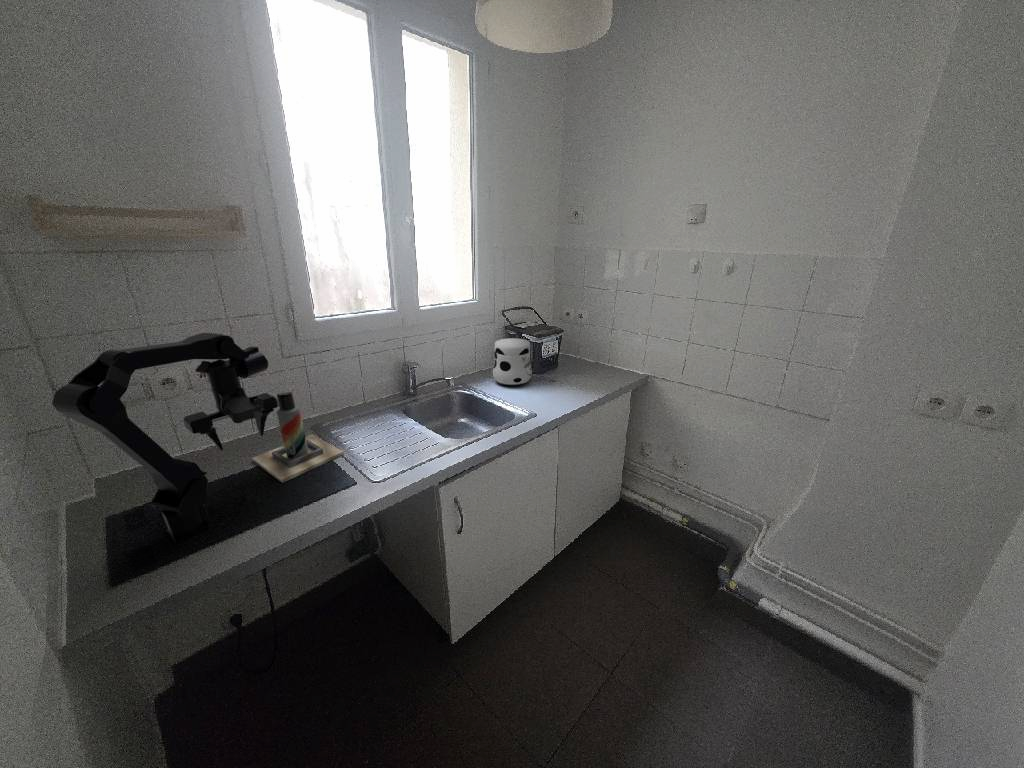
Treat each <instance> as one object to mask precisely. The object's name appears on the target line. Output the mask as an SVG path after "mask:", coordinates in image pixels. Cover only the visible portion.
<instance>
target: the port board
mask: <svg viewBox="0 0 1024 768" xmlns="http://www.w3.org/2000/svg"><path fill="white" fill-rule="evenodd" d="M305 437H306V442H307V446H308V453H307V454H305V455H302V456H300V457H298V458H295V459H293V460H290V459H288V457H287V454H286V450H285V446H284V445H282V446H279V447H277V448H275V449H272V450H269V451H266V452H264V453H261V454H259V455H257V456H253V457H251V459H252V460H251V461H252V462H253V463H255V464H256V465H258V466H259V467H260V468H262V469H263V470H264V471H265V472H267V473H268V474H270V475H271V476H273V477H274V478H275V479H277V480H278V481H279V482H281V483H282V484H283V483H286V482H287V481H290V480H292V479H294V478H296V477H299V476H301V475H302V474H305V473H308V472H309V471H311V470H313V469H315V468H319V466H322V465H325V464H326V463H329V462H330V461H332V460H335V459H338V458H340V457H341V456H343V455H345V454H344V450H341V449H339V448H338V447H335V446H334V445H332V444H330V443H329V442H327V441H325V440H323V439H321V438H320V437H317V436H316V435H313V434H310V435H307V436H305Z"/></svg>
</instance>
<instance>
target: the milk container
mask: <svg viewBox="0 0 1024 768" xmlns="http://www.w3.org/2000/svg"><path fill="white" fill-rule="evenodd" d="M493 348H494V350H493V351H494V352H493V353H494V363H493V366H492V376H493V379H494V381H495V382H496V383H498V384H499V385H502V386H510V387H512V386H516V387H517V386H522V385H525V384H528V383H529V382H530V381H531V378H532V376H533V375H532V374H533V370H532V369H533V368H532V364H531V343H530V341H529V340H528V339H527V340H526V339H523V338H514V337H513V338H512V337H510V338H501V339H497V340H495V342H494V347H493Z"/></svg>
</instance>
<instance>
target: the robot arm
mask: <svg viewBox="0 0 1024 768" xmlns="http://www.w3.org/2000/svg"><path fill="white" fill-rule="evenodd" d="M191 360H202V361H200V364H199V365H198V366H197V367H196V368H195V372H196V373H202V374H206V375H207V377H208V380H209V384H210V387H211V388H210V390H211V394H213V398H214V400H215V407H216V408H215V409H217V411H216V412H213V413H208V414H206V412H204V411H200V412H195V413H192V414H189V415H185V416H184V418H183V425H184V427H185V429H187V430H188V431H189V432H191V433H192V434H194V435H195V434H199V435H206V436H207V437H208V438H209V439H210V440H211V441H212V442H213V444H214V445H216V448H218V449H219V451H224V449H223V443H222V442H221V440H220V438H219V436H218V434H217V428H216V427H214V423H213V422H218V421H219V420H222V419H226V418H230V419H231V421H232V422H233V423H234V424H241V423H243V422H245V421H248V420H253V419H255V424H256V428H257V431H258V434H259V436H264V433H265V426H266V421H267V417H268V416H269V415H270V414H271V413H273V412H274V411H275V409H276V408H277V409H278V408H279V404H278V399H277V397H276V396H273V395H271V394H269V393H267V392H264V393H261V394H256V395H254V396H247V394H246V392H245V390H244V388H243V387H242V385H241V381H240V378H241V379H246V378H249V377H252V376H255V375H257V374H261V373H262V372H265V371H267V370H268V368H269V361H268V359H267V358H266V356H265V354H263V353H262V352H261V351H260V350H259V347H258V346H248V347H247V348H245V349H242V348H241V347H240V346H239V345H238V344H236V343H235V340H234V339H233V338H232V337H231V336H230V335H229V334H223V333H213V332H201V333H198V334H194V335H192V336H188V337H186V338H184V339H183V340H180V341H176V342H175V341H174V342H169V343H168V342H166V343H160V344H153V345H147V346H139V347H131V348H125V349H124V348H123V349H109V350H105V351H103V352H102V353H100V355H98V357H97V358H96V359H95V360H94V361H93V362H92V363H91V364H90V365H88V366H87V367H85V368H84V369H82V370H81V371H79V372H78V373H76V374H75V375H74V376H73V377H72V378H71V379H70V380H69V382H68V383H67V384H66V385H63V386H61V387H60V388H59V389H58V390H56V392H55V393H54V395H53V397H52V398H53V400H52V402H51V404H52V406H53V407H54V409H55V410H56V411H57V412H60V413H61V414H62V415H65V416H67V417H69V418H70V419H72V420H74V421H77V422H78V423H80V424H83V425H85V426H86V427H87V426H88V427H90V428H92V429H95V430H96V431H98V432H100V433H101V434H102V435H104V436H105V437H106V438H107V439H109V440H110V441H111V442H112V443H113V444H115V445H116V446H117V447H118V448H119V449H121V450H122V451H123V452H124V453H126V455H128V456H129V457H130V458H132V459H133V460H134V461H136V463H138V464H139V465H141V466H142V467H143V468H144V469H146V470H147V472H149V473H150V474H151V475H152V479H153V483H154V484H155V486H156V487H157V490H156V492H155V494H154V496H153V498H152V499H151V501H150V506H152V507H153V508H154V509H155V510H161V515H162V517H163V520H164V522H165V524H166V526H167V528H166V531H167V533H168V534H169V535H170V536H171V538H172V539H173V541H174V542H175V543H178V542H181V541H183V540H185V539H187V538H189V537H191V536H193V535H195V534H198V533H200V532H201V531H203V530H206V529H207V528H209V527H211V523H210V522H209V520H210V516H209V514H208V513H209V512H208V510H207V508H206V506H205V504H206V497H207V486H208V483H209V479H208V478H207V476H206V475H207V474H208V472H207V471H203V470H202V469H201V468H200V466H199V465H198V464H197V463H196V462H193V461H190V460H185V459H179V458H174V457H172V456H171V455H170V454H169V453H168V452H167V451H166V450H165V449H163V448H162V447H161V445H159V444H158V443H157V442H156V441H154V439H152V438H151V437H150V436H149V435H148V434H147V433H145V431H143V430H142V429H141V428H140V427H139V426H138V424H137V425H136V423H135V422H134V421H132V420H131V418H130V417H129V415H128V411H127V408H126V405H125V404H124V402H123V401H122V400H121V398H122V397H123V396H124V394H125V393H126V392H127V391H128V388H129V384H130V381H131V378H132V375H133V373H135V372H136V371H137V370H142V369H146V368H154V367H157V366H163V365H169V364H174V363H180V362H185V361H191ZM207 360H212V361H207Z"/></svg>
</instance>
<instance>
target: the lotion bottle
mask: <svg viewBox="0 0 1024 768" xmlns="http://www.w3.org/2000/svg"><path fill="white" fill-rule="evenodd" d="M276 399H277V401H278V405H279V406H278V408H277V410H276V415H277V420H278V424H279V427H280V428H279V429H280V434H281V436H282V440H283V444H284V445H283V446H285V450H286V454H287V457H288V459H290V460H293V459H295V458H298V457H300V456H302V455H305V454H307V453H308V446H307V442H306V437H307V436H306V433H305V428H304V424H303V419H302V414H301V411H300V406H298V405H296V404H295V399H294V394H293V392H291V391H290V392H280V393H277V394H276Z"/></svg>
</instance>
